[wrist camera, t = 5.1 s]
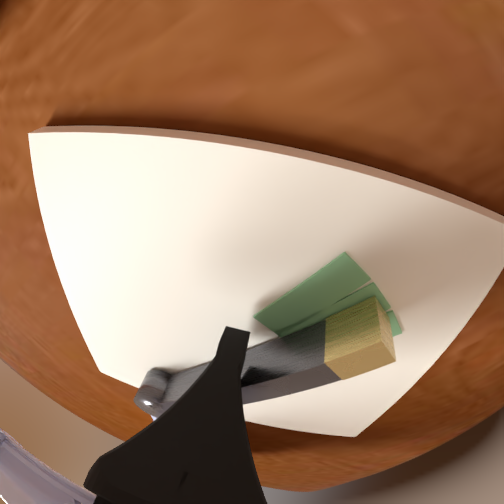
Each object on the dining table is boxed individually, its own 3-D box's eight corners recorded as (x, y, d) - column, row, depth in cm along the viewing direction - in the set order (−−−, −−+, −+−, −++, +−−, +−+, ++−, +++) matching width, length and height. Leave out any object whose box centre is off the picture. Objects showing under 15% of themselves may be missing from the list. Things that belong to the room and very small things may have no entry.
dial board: (355, 425, 17) (354, 438, 17) (106, 361, 19) (99, 372, 18) (509, 219, 8) (523, 234, 7) (44, 126, 9) (26, 134, 8)
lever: (172, 397, 17) (162, 422, 15) (138, 373, 16) (126, 399, 14) (396, 328, 10) (403, 371, 8) (365, 281, 9) (372, 327, 7)
